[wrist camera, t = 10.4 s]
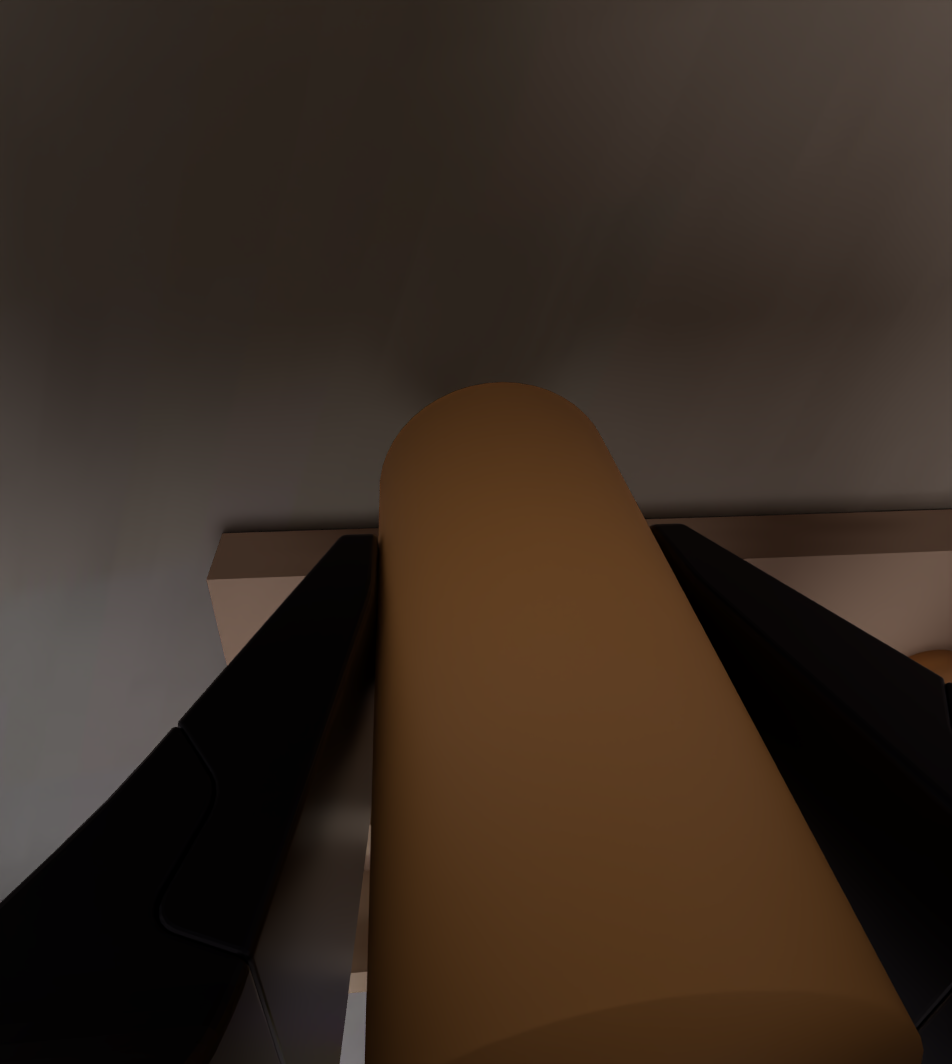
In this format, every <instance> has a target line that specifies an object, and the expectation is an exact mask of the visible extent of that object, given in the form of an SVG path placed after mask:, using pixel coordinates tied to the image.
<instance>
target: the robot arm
mask: <svg viewBox="0 0 952 1064" xmlns="http://www.w3.org/2000/svg"><path fill="white" fill-rule="evenodd" d="M649 528H650V529H651V531H652V533H653V535H654V537H655V539H656V541H657V543H658V544H659V546H660V548H661V550H662V552H663V554H664V556H665V558H666V560H667V561H668V563H669V565H670V567H671V569H672V571H673V573H674V575H675V576H676V578H677V580H678V582H679V584H680V586H681V588H682V590H683V591H684V593H685V595H686V597H687V599H688V601H689V603H690V605H691V606H692V608H693V610H694V612H695V614H696V616H697V618H698V620H699V622H700V623H701V625H702V627H703V629H704V631H705V633H706V635H707V637H708V638H709V640H710V642H711V644H712V646H713V648H714V650H715V652H716V653H717V655H718V657H719V659H720V661H721V663H722V665H723V667H724V668H725V670H726V672H727V674H728V676H729V678H730V680H731V682H732V683H733V685H734V687H735V689H736V691H737V693H738V695H739V697H740V699H741V700H742V702H743V704H744V706H745V708H746V710H747V712H748V714H749V715H750V717H751V719H752V721H753V723H754V725H755V727H756V729H757V730H758V732H759V734H760V736H761V738H762V740H763V742H764V744H765V745H766V747H767V749H768V751H769V753H770V755H771V757H772V759H773V760H774V762H775V764H776V766H777V768H778V770H779V772H780V774H781V776H782V777H783V779H784V781H785V783H786V785H787V787H788V789H789V791H790V792H791V794H792V796H793V798H794V800H795V802H796V804H797V806H798V807H799V809H800V811H801V813H802V815H803V817H804V819H805V821H806V822H807V824H808V826H809V828H810V830H811V832H812V834H813V836H814V838H815V839H816V841H817V843H818V845H819V847H820V849H821V851H822V853H823V854H824V856H825V858H826V860H827V862H828V864H829V866H830V868H831V869H832V871H833V873H834V875H835V877H836V879H837V881H838V883H839V884H840V886H841V888H842V890H843V892H844V894H845V896H846V898H847V899H848V901H849V903H850V905H851V907H852V909H853V911H854V913H855V915H856V916H857V918H858V920H859V922H860V924H861V926H862V928H863V930H864V931H865V933H866V935H867V937H868V939H869V941H870V943H871V945H872V946H873V948H874V950H875V952H876V954H877V956H878V958H879V960H880V961H881V963H882V965H883V967H884V969H885V971H886V973H887V975H888V976H889V978H890V980H891V982H892V984H893V986H894V988H895V990H896V992H897V993H898V995H899V997H900V999H901V1001H902V1003H903V1005H904V1007H905V1008H906V1010H907V1012H908V1014H909V1016H910V1018H911V1020H912V1022H913V1023H914V1025H915V1027H916V1029H917V1031H918V1033H919V1035H920V1037H921V1040H922V1045H923V1050H924V1051H923V1056H922V1062H921V1064H952V683H951V682H948V683H946V684H945V682H944V679H943V678H942V677H941V676H939V675H938V674H936V673H934V672H933V671H931V670H929V669H928V668H926V667H924V666H923V665H921V664H919V663H917V662H916V661H914V660H912V659H911V658H909V657H907V656H906V655H904V654H902V653H901V652H899V651H897V650H896V649H894V648H892V647H890V646H889V645H887V644H885V643H884V642H882V641H880V640H879V639H877V638H875V637H874V636H872V635H870V634H869V633H867V632H865V631H863V630H862V629H860V628H858V627H857V626H855V625H853V624H852V623H850V622H848V621H847V620H845V619H843V618H842V617H840V616H838V615H836V614H835V613H833V612H831V611H830V610H828V609H826V608H825V607H823V606H821V605H820V604H818V603H816V602H815V601H813V600H811V599H809V598H808V597H806V596H804V595H803V594H801V593H799V592H798V591H796V590H794V589H793V588H791V587H789V586H788V585H786V584H784V583H782V582H781V581H779V580H777V579H776V578H774V577H772V576H771V575H769V574H767V573H766V572H764V571H762V570H761V569H759V568H757V567H755V566H754V565H752V564H750V563H749V562H747V561H745V560H744V559H742V558H740V557H739V556H737V555H735V554H734V553H732V552H730V551H728V550H727V549H725V548H723V547H722V546H720V545H718V544H717V543H715V542H713V541H712V540H710V539H708V538H707V537H705V536H703V535H701V534H700V533H698V532H696V531H695V530H693V529H691V528H690V527H688V526H686V525H684V524H680V523H673V524H653V525H651V526H650V527H649ZM378 566H379V543H378V538H377V536H376V535H374V534H346V535H343V536H341V537H340V538H339V539H338V540H337V541H336V542H335V543H334V544H333V545H332V547H331V548H330V549H329V550H328V551H327V552H326V553H325V555H324V556H323V557H322V558H321V559H320V560H319V561H318V563H317V564H316V565H315V566H314V567H313V568H312V569H311V571H310V572H309V573H308V574H307V575H306V576H305V577H304V579H303V580H302V581H301V582H300V583H299V584H298V585H297V587H296V588H295V589H294V590H293V591H292V592H291V593H290V595H289V596H288V597H287V598H286V599H285V600H284V601H283V603H282V604H281V605H280V606H279V607H278V608H277V609H276V611H275V612H274V613H273V614H272V615H271V616H270V617H269V619H268V620H267V621H266V622H265V623H264V624H263V625H262V627H261V628H260V629H259V630H258V631H257V632H256V633H255V635H254V636H253V637H252V638H251V639H250V640H249V641H248V643H247V644H246V645H245V646H244V647H243V648H242V649H241V651H240V652H239V653H238V654H237V655H236V656H235V657H234V659H233V660H232V661H231V662H230V663H229V664H228V665H227V667H226V668H225V669H224V670H223V671H222V672H221V673H220V675H219V676H218V677H217V678H216V679H215V680H214V681H213V683H212V684H211V685H210V686H209V687H208V688H207V689H206V691H205V692H204V693H203V694H202V695H201V696H200V697H199V699H198V700H197V701H196V702H195V703H194V704H193V705H192V707H191V708H190V709H189V710H188V711H187V712H186V713H185V715H184V716H183V717H182V718H181V719H180V720H179V722H178V727H174V728H172V729H171V730H170V731H169V732H168V734H167V735H166V736H165V737H164V738H163V739H162V740H161V742H160V743H159V744H158V745H157V746H156V747H155V748H154V750H153V751H152V752H151V753H150V754H149V755H148V756H147V757H146V759H145V760H144V761H143V762H142V763H141V764H140V765H139V766H138V767H137V768H136V769H135V770H134V771H133V773H132V774H131V775H130V776H129V777H128V778H127V779H126V780H125V781H124V782H123V783H122V784H121V786H120V787H119V788H118V789H117V790H116V791H115V792H114V793H113V794H112V795H111V796H110V797H109V799H108V800H107V801H106V802H105V803H104V804H103V805H102V806H100V807H99V808H98V809H97V810H96V811H95V812H94V813H93V814H92V815H91V816H90V817H89V818H88V819H87V820H86V821H85V822H84V823H83V824H82V825H81V826H80V827H79V828H78V829H77V830H76V831H75V832H74V833H73V834H72V835H71V836H70V837H69V838H68V839H67V840H66V841H65V842H64V843H63V844H62V845H61V846H60V847H59V848H58V849H57V850H56V851H55V852H54V853H53V854H52V855H50V856H49V857H48V858H47V859H46V860H45V861H44V862H43V863H42V864H41V865H40V866H39V867H38V868H37V869H36V870H35V871H33V872H32V873H31V874H30V875H29V876H28V877H27V878H26V879H25V880H24V881H23V882H22V883H21V884H20V885H19V886H18V887H17V888H15V889H14V890H13V891H12V892H11V893H10V894H9V895H8V896H7V897H6V898H5V899H4V900H3V901H2V902H1V903H0V1064H339V1063H340V1055H341V1047H342V1039H343V1031H344V1023H345V1016H346V1008H347V1000H348V992H349V984H350V976H351V968H352V960H353V952H354V944H355V936H356V928H357V920H358V912H359V905H360V897H361V889H362V881H363V873H364V865H365V857H366V849H367V841H368V833H369V825H370V817H371V806H372V768H373V730H374V691H375V653H376V632H377V606H378Z"/></svg>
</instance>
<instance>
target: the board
mask: <svg viewBox="0 0 952 1064" xmlns="http://www.w3.org/2000/svg"><path fill="white" fill-rule="evenodd" d="M645 520H646V522H647V524H648V526H649V527H650V526H651V525H653V524H673V523H680V524H684V525H686V526H688V527H690V528H691V529H693V530H695V531H696V532H698V533H700V534H701V535H703V536H705V537H707V538H708V539H710V540H712V541H713V542H715V543H717V544H718V545H720V546H722V547H723V548H725V549H727V550H728V551H730V552H732V553H734V554H735V555H737V556H739V557H740V558H742V559H744V560H745V561H747V562H749V563H750V564H752V565H754V566H755V567H757V568H759V569H761V570H762V571H764V572H766V573H767V574H769V575H771V576H772V577H774V578H776V579H777V580H779V581H781V582H782V583H784V584H786V585H788V586H789V587H791V588H793V589H794V590H796V591H798V592H799V593H801V594H803V595H804V596H806V597H808V598H809V599H811V600H813V601H815V602H816V603H818V604H820V605H821V606H823V607H825V608H826V609H828V610H830V611H831V612H833V613H835V614H836V615H838V616H840V617H842V618H843V619H845V620H847V621H848V622H850V623H852V624H853V625H855V626H857V627H858V628H860V629H862V630H863V631H865V632H867V633H869V634H870V635H872V636H874V637H875V638H877V639H879V640H880V641H882V642H884V643H885V644H887V645H889V646H890V647H892V648H894V649H896V650H897V651H899V652H901V653H902V654H904V655H906V656H907V657H909V658H911V659H912V660H914V661H916V662H917V663H919V664H921V665H923V666H924V667H926V668H928V669H929V670H931V671H933V672H934V673H936V674H938V675H939V676H941V677H942V678H943V679H944V682H945V684H946V683H948V682H951V683H952V509H947V510H916V511H886V512H856V513H825V514H795V515H764V516H734V517H703V518H673V519H645ZM346 534H374V535H376V536H377V538H379V528H368V529H338V530H307V531H277V532H247V533H222V536H221V539H220V542H219V545H218V548H217V551H216V554H215V557H214V560H213V563H212V565H211V568H210V571H209V574H208V577H207V584H208V588H209V592H210V596H211V601H212V605H213V609H214V613H215V617H216V621H217V626H218V630H219V634H220V638H221V642H222V647H223V651H224V655H225V659H226V663H227V665H228V664H229V663H230V662H231V661H232V660H233V659H234V657H235V656H236V655H237V654H238V653H239V652H240V651H241V649H242V648H243V647H244V646H245V645H246V644H247V643H248V641H249V640H250V639H251V638H252V637H253V636H254V635H255V633H256V632H257V631H258V630H259V629H260V628H261V627H262V625H263V624H264V623H265V622H266V621H267V620H268V619H269V617H270V616H271V615H272V614H273V613H274V612H275V611H276V609H277V608H278V607H279V606H280V605H281V604H282V603H283V601H284V600H285V599H286V598H287V597H288V596H289V595H290V593H291V592H292V591H293V590H294V589H295V588H296V587H297V585H298V584H299V583H300V582H301V581H302V580H303V579H304V577H305V576H306V575H307V574H308V573H309V572H310V571H311V569H312V568H313V567H314V566H315V565H316V564H317V563H318V561H319V560H320V559H321V558H322V557H323V556H324V555H325V553H326V552H327V551H328V550H329V549H330V548H331V547H332V545H333V544H334V543H335V542H336V541H337V540H338V539H339V538H340V537H341V536H343V535H346ZM370 845H371V817H370V825H369V833H368V841H367V849H366V857H365V865H364V873H363V881H362V889H361V897H360V905H359V912H358V920H357V928H356V936H355V944H354V952H353V960H352V968H351V976H350V984H349V992H348V993H356V992H366V991H367V959H368V921H369V883H370Z"/></svg>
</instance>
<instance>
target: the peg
mask: <svg viewBox="0 0 952 1064" xmlns="http://www.w3.org/2000/svg"><path fill="white" fill-rule="evenodd" d="M378 543H379V566H378V606H377V632H376V653H375V691H374V730H373V768H372V806H371V845H370V883H369V921H368V959H367V998H366V1036H365V1064H921V1062H922V1056H923V1051H924V1050H923V1045H922V1040H921V1037H920V1035H919V1033H918V1031H917V1029H916V1027H915V1025H914V1023H913V1022H912V1020H911V1018H910V1016H909V1014H908V1012H907V1010H906V1008H905V1007H904V1005H903V1003H902V1001H901V999H900V997H899V995H898V993H897V992H896V990H895V988H894V986H893V984H892V982H891V980H890V978H889V976H888V975H887V973H886V971H885V969H884V967H883V965H882V963H881V961H880V960H879V958H878V956H877V954H876V952H875V950H874V948H873V946H872V945H871V943H870V941H869V939H868V937H867V935H866V933H865V931H864V930H863V928H862V926H861V924H860V922H859V920H858V918H857V916H856V915H855V913H854V911H853V909H852V907H851V905H850V903H849V901H848V899H847V898H846V896H845V894H844V892H843V890H842V888H841V886H840V884H839V883H838V881H837V879H836V877H835V875H834V873H833V871H832V869H831V868H830V866H829V864H828V862H827V860H826V858H825V856H824V854H823V853H822V851H821V849H820V847H819V845H818V843H817V841H816V839H815V838H814V836H813V834H812V832H811V830H810V828H809V826H808V824H807V822H806V821H805V819H804V817H803V815H802V813H801V811H800V809H799V807H798V806H797V804H796V802H795V800H794V798H793V796H792V794H791V792H790V791H789V789H788V787H787V785H786V783H785V781H784V779H783V777H782V776H781V774H780V772H779V770H778V768H777V766H776V764H775V762H774V760H773V759H772V757H771V755H770V753H769V751H768V749H767V747H766V745H765V744H764V742H763V740H762V738H761V736H760V734H759V732H758V730H757V729H756V727H755V725H754V723H753V721H752V719H751V717H750V715H749V714H748V712H747V710H746V708H745V706H744V704H743V702H742V700H741V699H740V697H739V695H738V693H737V691H736V689H735V687H734V685H733V683H732V682H731V680H730V678H729V676H728V674H727V672H726V670H725V668H724V667H723V665H722V663H721V661H720V659H719V657H718V655H717V653H716V652H715V650H714V648H713V646H712V644H711V642H710V640H709V638H708V637H707V635H706V633H705V631H704V629H703V627H702V625H701V623H700V622H699V620H698V618H697V616H696V614H695V612H694V610H693V608H692V606H691V605H690V603H689V601H688V599H687V597H686V595H685V593H684V591H683V590H682V588H681V586H680V584H679V582H678V580H677V578H676V576H675V575H674V573H673V571H672V569H671V567H670V565H669V563H668V561H667V560H666V558H665V556H664V554H663V552H662V550H661V548H660V546H659V544H658V543H657V541H656V539H655V537H654V535H653V533H652V531H651V529H650V528H649V526H648V524H647V522H646V520H645V518H644V516H643V514H642V513H641V511H640V509H639V507H638V505H637V503H636V501H635V499H634V498H633V496H632V494H631V492H630V490H629V488H628V486H627V484H626V483H625V481H624V479H623V477H622V475H621V473H620V471H619V469H618V467H617V466H616V464H615V462H614V460H613V458H612V456H611V454H610V452H609V451H608V449H607V447H606V445H605V443H604V441H603V439H602V437H601V436H600V434H599V432H598V431H597V429H596V427H595V426H594V424H593V423H592V422H591V421H590V420H589V418H588V417H587V416H586V415H585V414H584V413H583V412H582V411H581V410H580V409H579V408H577V407H576V406H575V405H574V404H572V403H571V402H569V401H568V400H566V399H565V398H563V397H561V396H559V395H557V394H555V393H553V392H551V391H549V390H546V389H543V388H539V387H536V386H533V385H527V384H521V383H510V382H496V383H484V384H479V385H474V386H469V387H466V388H463V389H460V390H457V391H454V392H452V393H449V394H447V395H445V396H443V397H441V398H439V399H437V400H436V401H434V402H432V403H431V404H429V405H428V406H426V407H425V408H423V409H422V410H421V411H420V412H419V413H417V414H416V415H415V416H414V417H413V418H412V419H411V420H410V421H409V422H408V423H407V424H406V425H405V426H404V427H403V428H402V430H401V431H400V432H399V434H398V435H397V437H396V438H395V440H394V441H393V443H392V445H391V447H390V449H389V451H388V453H387V455H386V458H385V461H384V464H383V467H382V472H381V478H380V500H379V538H378Z"/></svg>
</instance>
